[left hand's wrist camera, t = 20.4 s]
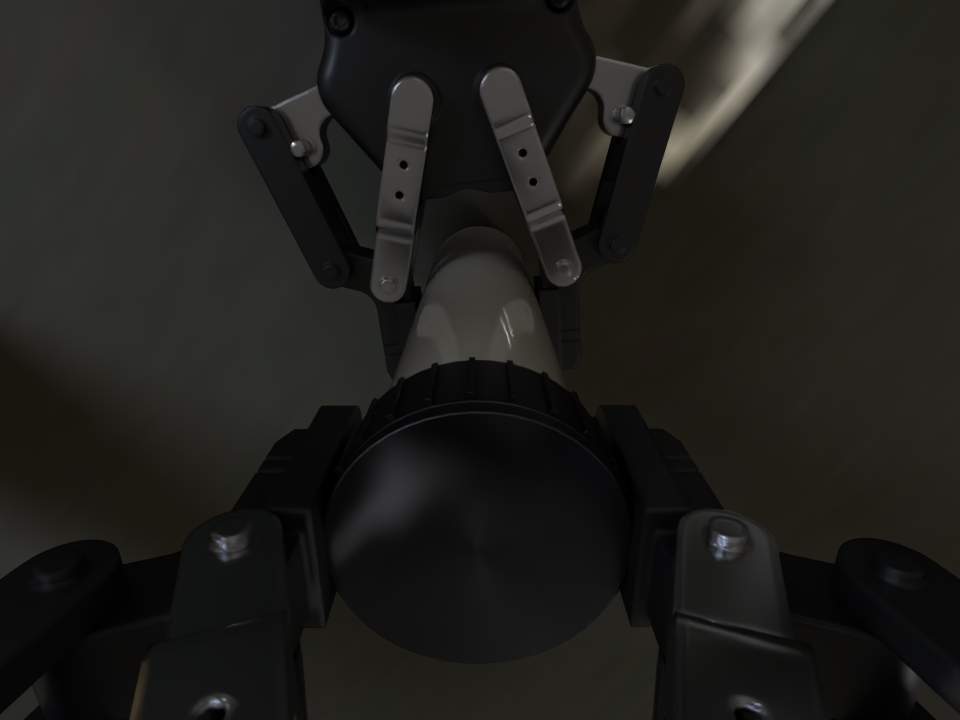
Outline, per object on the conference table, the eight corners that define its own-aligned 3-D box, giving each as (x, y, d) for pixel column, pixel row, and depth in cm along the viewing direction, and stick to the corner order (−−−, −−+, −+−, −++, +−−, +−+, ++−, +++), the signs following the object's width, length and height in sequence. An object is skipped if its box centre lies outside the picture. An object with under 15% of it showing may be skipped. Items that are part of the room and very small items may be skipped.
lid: (316, 541, 11) (284, 622, 10) (390, 315, 10) (368, 360, 8) (548, 607, 12) (561, 697, 10) (656, 407, 10) (696, 470, 8)
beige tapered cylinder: (514, 216, 26) (582, 380, 9) (533, 305, 27) (620, 592, 10) (422, 238, 26) (317, 436, 9) (445, 325, 28) (392, 632, 11)
